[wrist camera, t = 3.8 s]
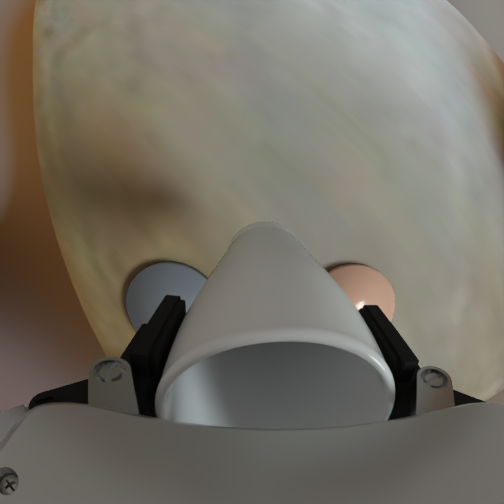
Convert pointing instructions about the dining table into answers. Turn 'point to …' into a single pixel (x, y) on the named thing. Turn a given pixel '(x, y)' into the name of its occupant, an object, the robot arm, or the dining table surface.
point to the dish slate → (161, 289)
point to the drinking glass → (273, 345)
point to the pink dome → (365, 287)
